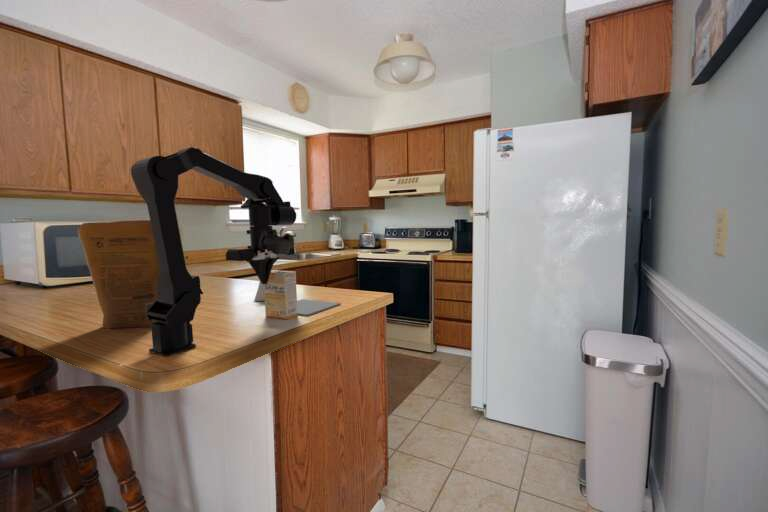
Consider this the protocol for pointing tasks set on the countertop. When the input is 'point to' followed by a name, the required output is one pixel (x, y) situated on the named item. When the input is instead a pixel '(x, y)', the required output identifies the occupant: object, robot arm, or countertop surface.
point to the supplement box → (281, 294)
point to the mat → (313, 306)
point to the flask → (260, 293)
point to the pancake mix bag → (122, 270)
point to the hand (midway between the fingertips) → (264, 284)
